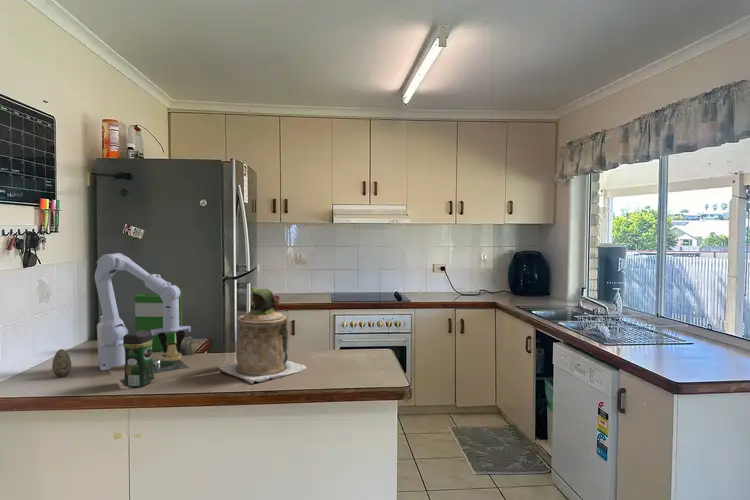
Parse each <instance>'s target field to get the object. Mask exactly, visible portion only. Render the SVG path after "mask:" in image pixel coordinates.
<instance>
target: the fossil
mask: <svg viewBox="0 0 750 500" xmlns="http://www.w3.org/2000/svg"><path fill="white" fill-rule="evenodd" d="M196 350H197V345H196V343H195V342H194V340H193V339H192V336H188V337H184V338H183V340H182V343H181V346H180V351H178V353H181V354H182V357H183V356H193V355H195V354H196Z"/></svg>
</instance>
